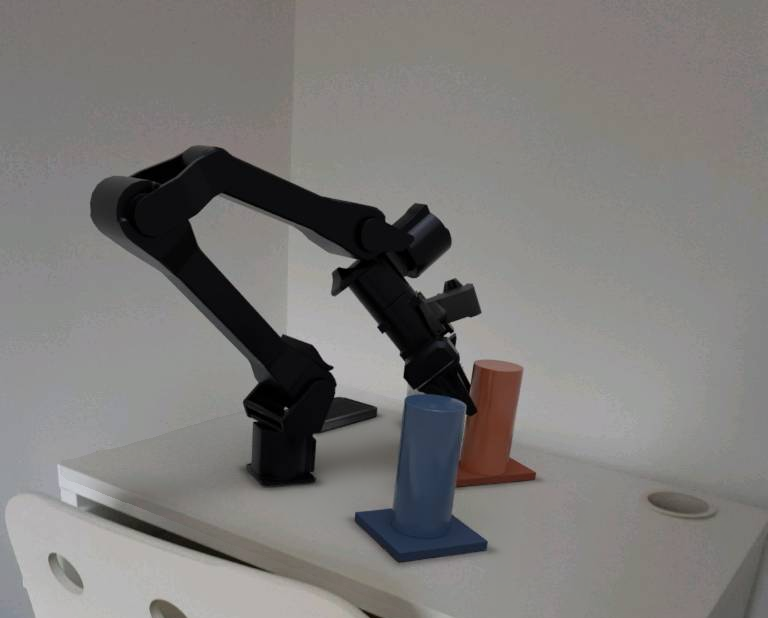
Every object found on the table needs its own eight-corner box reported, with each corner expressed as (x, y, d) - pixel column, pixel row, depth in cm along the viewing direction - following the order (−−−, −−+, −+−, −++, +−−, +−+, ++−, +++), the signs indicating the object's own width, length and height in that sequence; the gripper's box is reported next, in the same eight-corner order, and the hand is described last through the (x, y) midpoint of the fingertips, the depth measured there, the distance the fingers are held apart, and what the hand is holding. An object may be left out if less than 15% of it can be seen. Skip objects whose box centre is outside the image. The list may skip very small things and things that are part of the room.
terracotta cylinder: (476, 477, 98) (492, 371, 93) (450, 461, 102) (463, 359, 98) (516, 474, 100) (534, 370, 96) (489, 458, 105) (504, 359, 100)
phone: (380, 407, 122) (315, 425, 110) (379, 415, 122) (314, 433, 111) (339, 396, 126) (272, 411, 114) (339, 403, 126) (272, 419, 115)
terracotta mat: (454, 487, 97) (455, 479, 96) (429, 470, 102) (430, 462, 101) (535, 479, 102) (536, 472, 102) (508, 463, 107) (509, 456, 107)
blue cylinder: (408, 541, 79) (423, 412, 74) (380, 517, 83) (393, 394, 79) (460, 535, 81) (478, 410, 77) (430, 511, 86) (446, 393, 81)
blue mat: (398, 562, 76) (399, 552, 76) (354, 520, 85) (355, 511, 84) (486, 550, 81) (488, 541, 81) (436, 511, 89) (437, 503, 89)
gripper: (448, 264, 84) (536, 380, 88) (445, 250, 101) (519, 347, 105) (365, 332, 87) (454, 441, 91) (376, 307, 104) (450, 399, 108)
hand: (472, 403), depth 98 cm, fingers open, 9 cm apart
